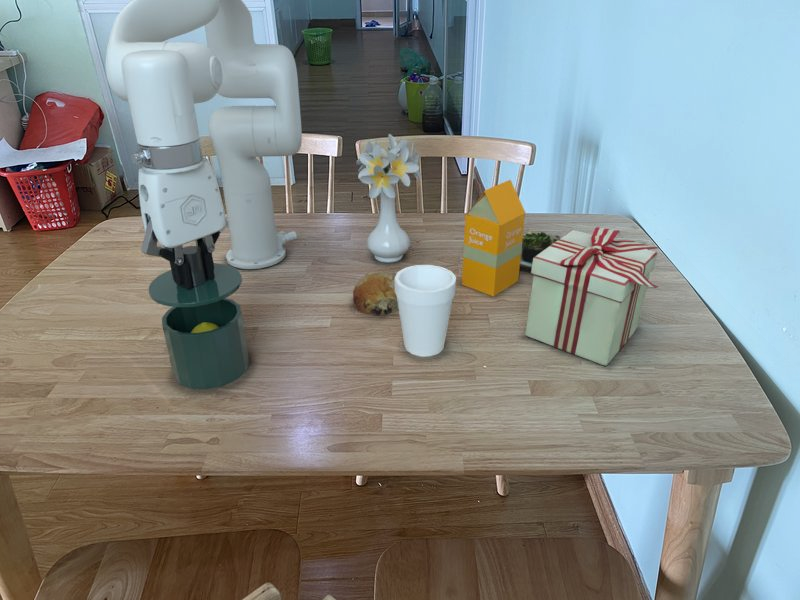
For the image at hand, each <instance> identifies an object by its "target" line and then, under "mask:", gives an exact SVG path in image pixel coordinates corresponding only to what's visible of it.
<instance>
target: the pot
mask: <svg viewBox="0 0 800 600" xmlns="http://www.w3.org/2000/svg"><path fill="white" fill-rule="evenodd" d="M203 322H207V323H213V324H215V325H217V326H218V327H219V328H217V329H214V330H211V331H206V332H200V333H191V331H192V330H193V329H194V328H195V327H196V326H197V325H199V324H201V323H203ZM161 327H162V331H163V335H164V340H165V344H166V347H167V351H168V353H167V354H168V357H169V361H170V366H171V370H172V375H173V378H174V380H175V381H176V382H177V383H178V384H179V385H180V386H182V387H184V388H189V389H192V390H212V389H216V388H221V387H224V386H227V385H229V384H231V383H233V382H235V381H237V380H238V379H239V378H241V377H242V376H244V374H245V373H246V372H247V370H248V368H249V366H250V359H249V351H248V344H247V339H246V331H245V325H244V319H243V312H242V309H241V304H239V303H238V302H237V301H235V300H234V299H232V298H229V297H226V298H224V299H222V300H220V301H217V302H214V303H210V304H206V305H202V306H195V307H171V308H169V309H168V310H167V311H166V312H165V313H164V314H163V316H162V317H161Z"/></svg>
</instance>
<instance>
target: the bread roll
mask: <svg viewBox="0 0 800 600" xmlns="http://www.w3.org/2000/svg"><path fill="white" fill-rule="evenodd" d="M395 276H396V275H393V273H392V274H391V273H389V272H386V271H369V272H368V273H366V274H365V275H364V276H363V277H362V278H361V279H360V280H359V281H357V282H356V283H355V285H354V288H353V292H352V299H353V305H354V308H355V309H356V310H357V311H358V312H360V313H362V314H365V315H370V316H381V315H389V314H391V313H396V312H397V311H398V312H399V308H398V302H397V296H396V293H395Z"/></svg>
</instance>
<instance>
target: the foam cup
mask: <svg viewBox="0 0 800 600" xmlns="http://www.w3.org/2000/svg"><path fill="white" fill-rule="evenodd" d="M394 276H395V293H396V296H397V302H398V308H399V310H398V314H399V320H400V326H401V333H402V339H403V346H404V348H405V350H406V351H407V352H408V353H409V354H412V355H413V356H417V357H420V358H421V357H422V358H423V357H425V358H426V357H433V356H435V355H439V354H440V353H441V352H442V351H443V350H444V348H445V343H446V336H447V332H448V327H449V322H450V316H451V311H452V305H453V300H454V298H455V295H456V291H457V277H456V275H455V274H454V273H453V270H450V269H448V268H445V267H444V266H439V265H434V264H415V265H411V266H406V267H404V268H402V269H400V270H399V271H397V272H396V274H395V275H394Z"/></svg>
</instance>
